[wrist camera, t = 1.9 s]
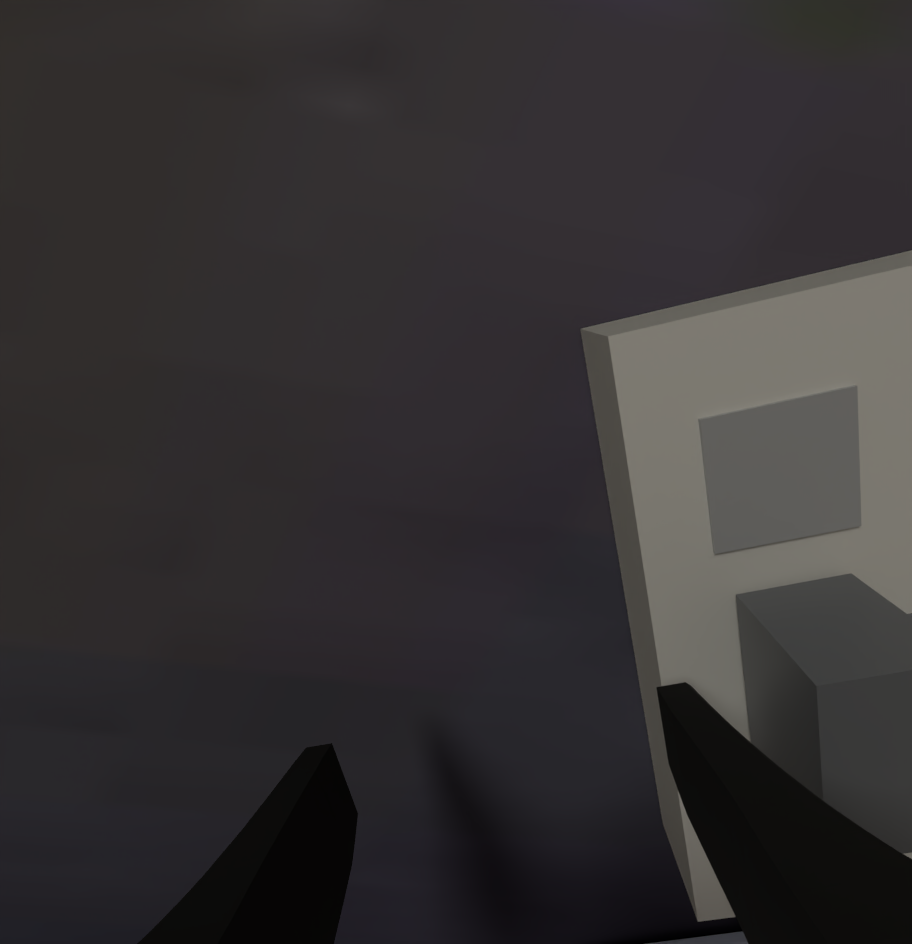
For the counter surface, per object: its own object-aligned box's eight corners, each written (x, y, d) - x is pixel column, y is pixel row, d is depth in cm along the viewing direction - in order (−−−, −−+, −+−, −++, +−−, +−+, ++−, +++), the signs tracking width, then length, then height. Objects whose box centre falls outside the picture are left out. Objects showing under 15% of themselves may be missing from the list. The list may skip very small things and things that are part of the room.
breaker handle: (856, 724, 13) (964, 845, 10) (750, 741, 13) (826, 863, 10) (851, 573, 12) (971, 660, 9) (735, 594, 12) (816, 685, 9)
